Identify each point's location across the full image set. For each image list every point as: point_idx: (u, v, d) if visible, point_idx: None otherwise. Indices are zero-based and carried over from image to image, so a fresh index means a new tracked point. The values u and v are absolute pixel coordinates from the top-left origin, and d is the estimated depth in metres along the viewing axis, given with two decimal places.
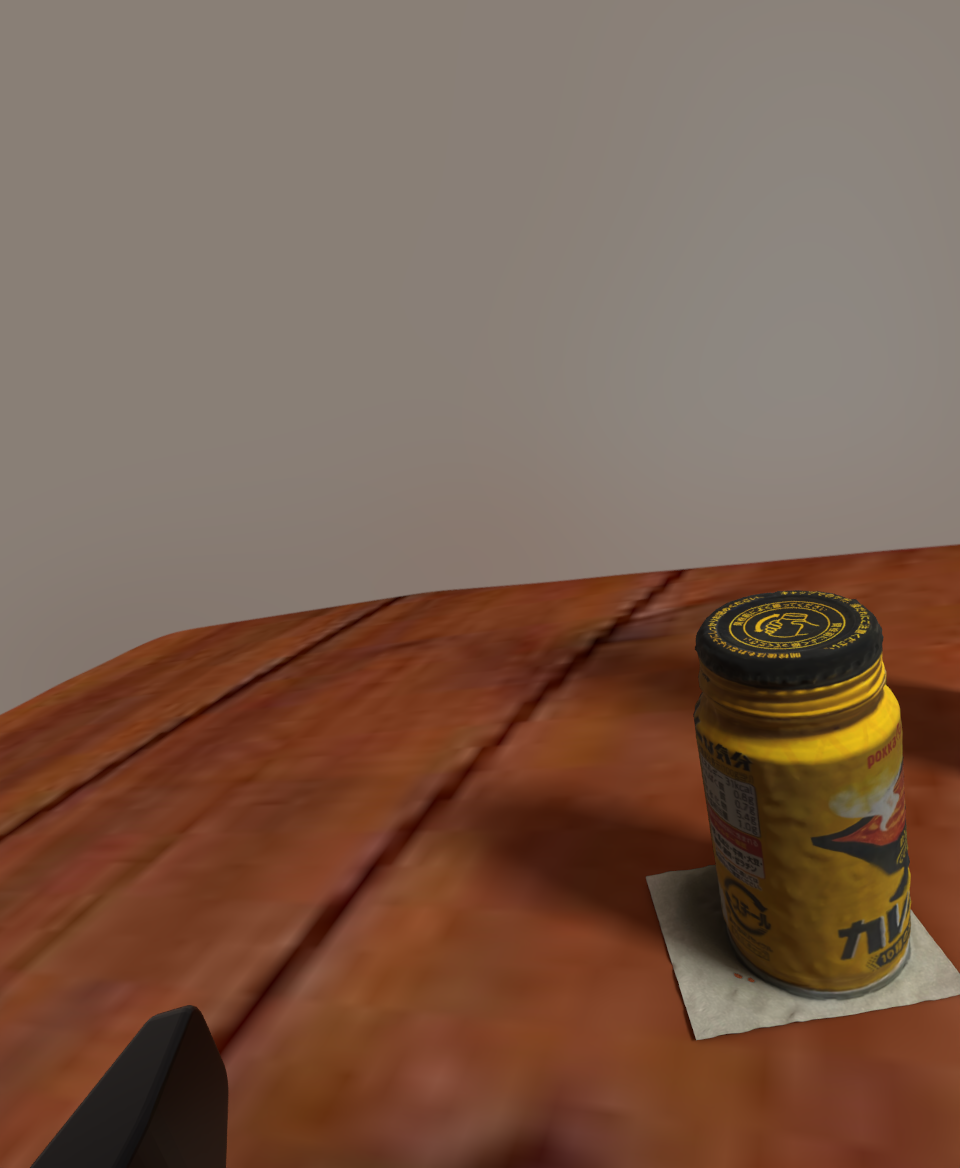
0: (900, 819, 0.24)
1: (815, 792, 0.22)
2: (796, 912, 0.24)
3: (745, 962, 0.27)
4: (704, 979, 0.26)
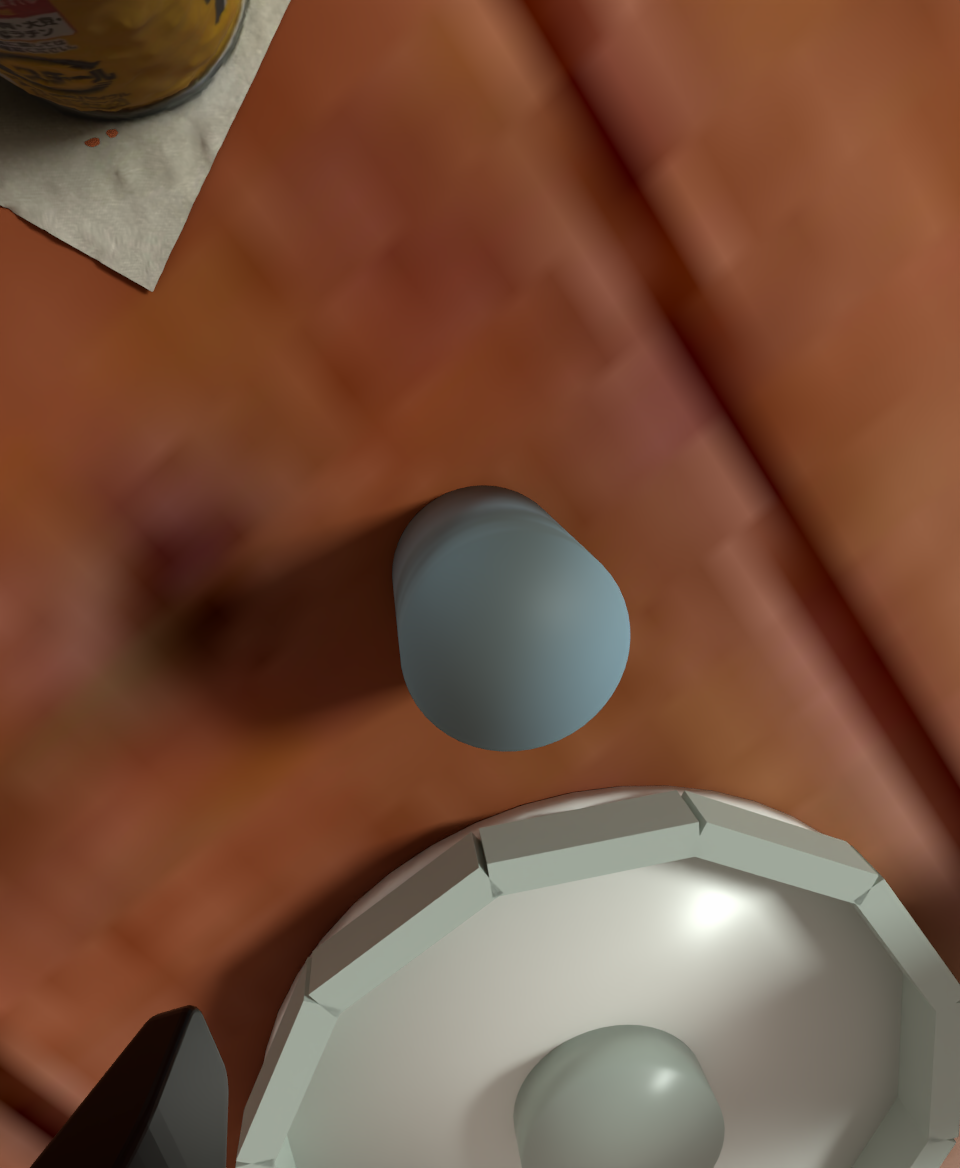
0: None
1: None
2: (147, 36, 0.13)
3: (82, 112, 0.16)
4: (68, 194, 0.16)
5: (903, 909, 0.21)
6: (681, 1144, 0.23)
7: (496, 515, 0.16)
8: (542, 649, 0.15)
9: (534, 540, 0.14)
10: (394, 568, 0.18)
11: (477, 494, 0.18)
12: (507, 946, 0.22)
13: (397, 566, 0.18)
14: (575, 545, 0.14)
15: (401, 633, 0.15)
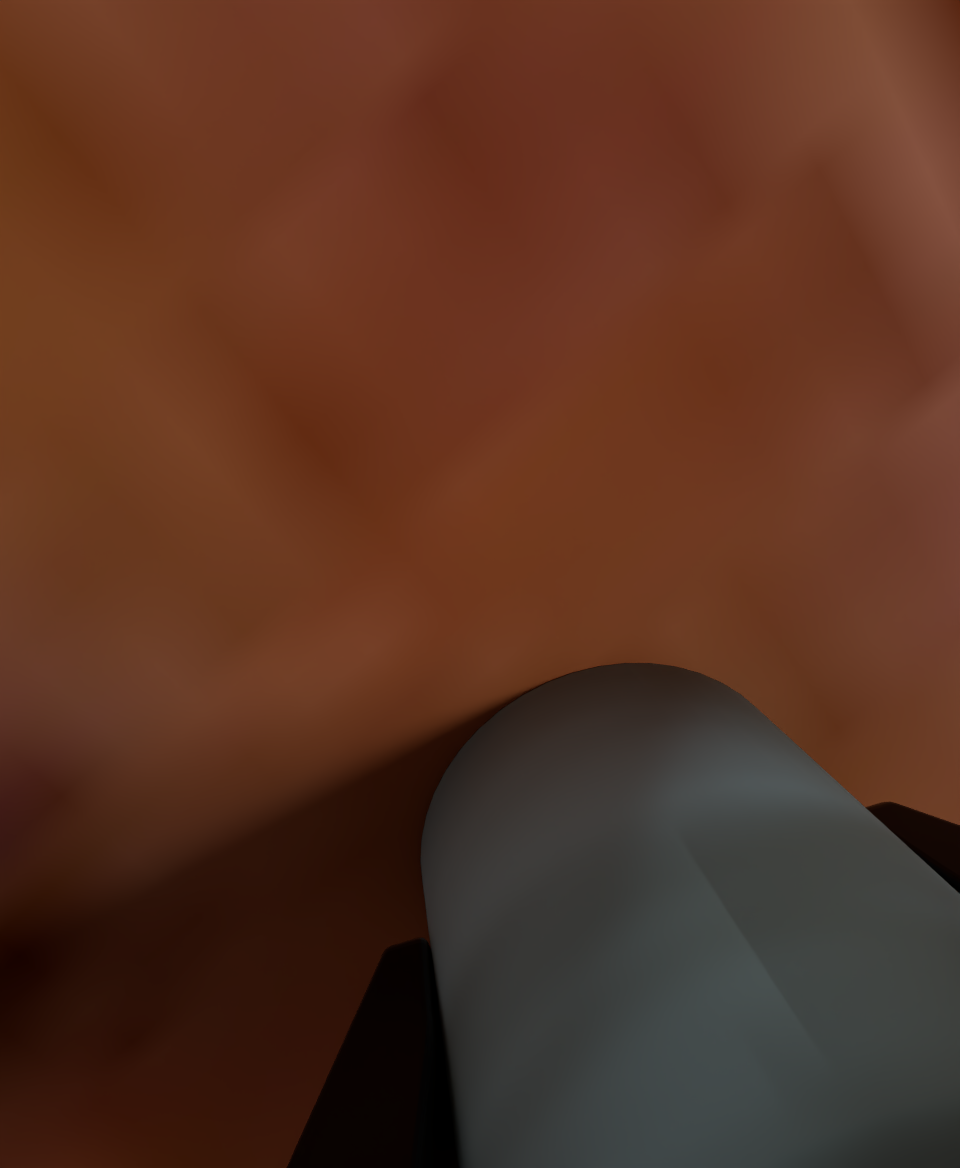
0: None
1: None
2: None
3: None
4: None
5: None
6: None
7: (773, 874, 0.05)
8: None
9: None
10: (430, 875, 0.08)
11: (638, 711, 0.07)
12: None
13: (442, 896, 0.07)
14: None
15: None
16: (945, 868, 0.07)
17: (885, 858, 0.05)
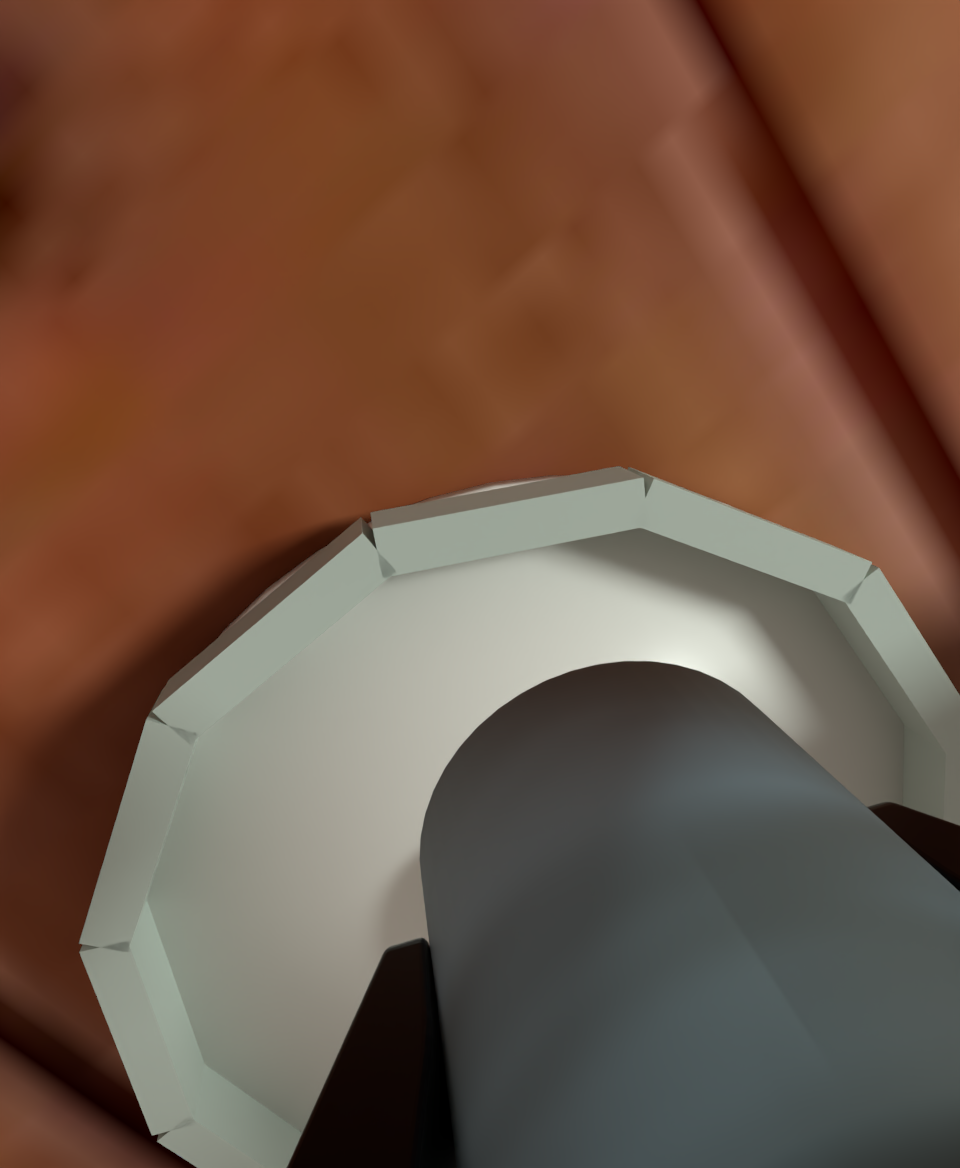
0: None
1: None
2: None
3: None
4: None
5: (903, 611, 0.17)
6: None
7: (772, 870, 0.05)
8: None
9: None
10: (429, 873, 0.08)
11: (637, 709, 0.07)
12: (417, 679, 0.18)
13: (441, 893, 0.07)
14: None
15: None
16: (945, 868, 0.07)
17: (885, 855, 0.05)
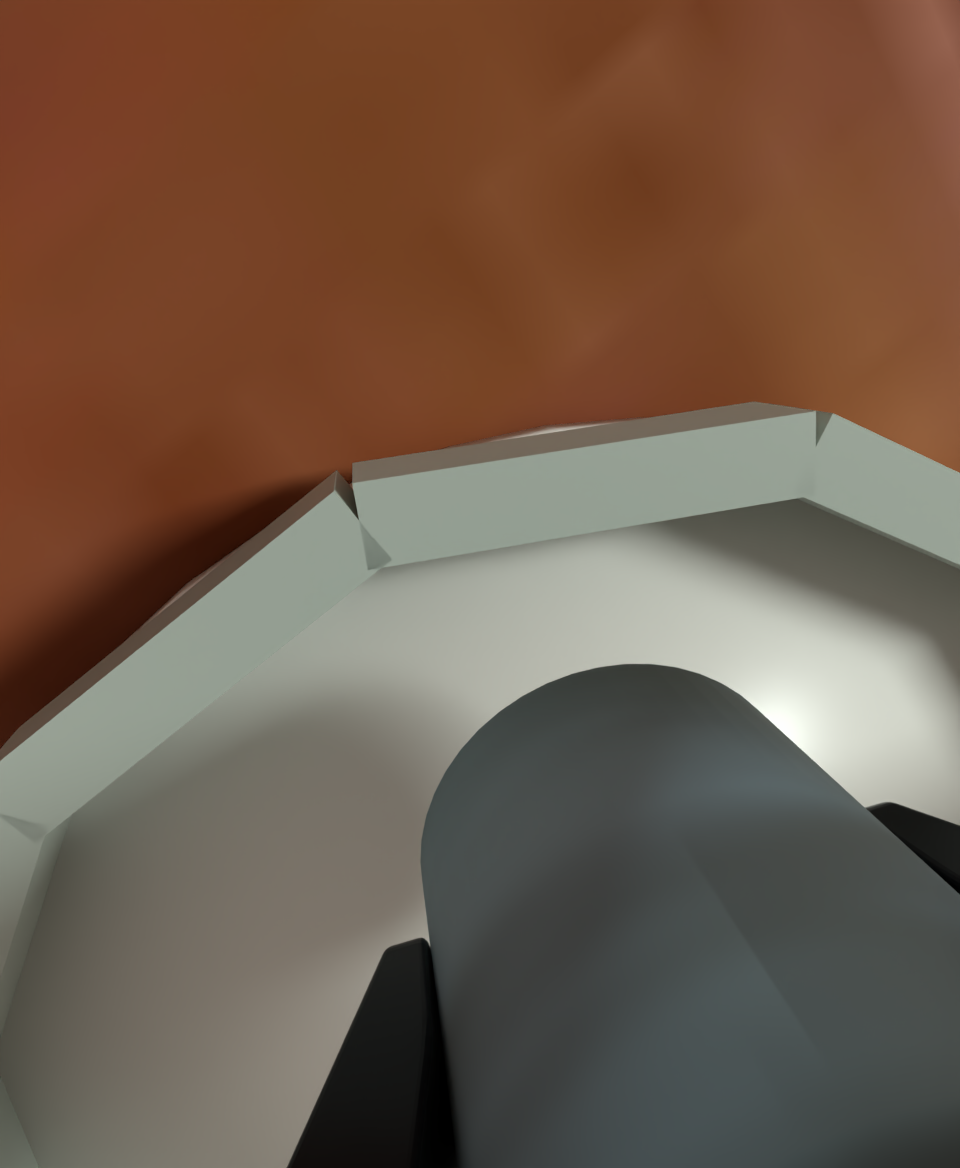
0: None
1: None
2: None
3: None
4: None
5: None
6: None
7: (774, 875, 0.05)
8: None
9: None
10: (430, 876, 0.08)
11: (638, 712, 0.07)
12: (422, 731, 0.11)
13: (442, 897, 0.07)
14: None
15: None
16: (945, 868, 0.07)
17: (886, 859, 0.05)
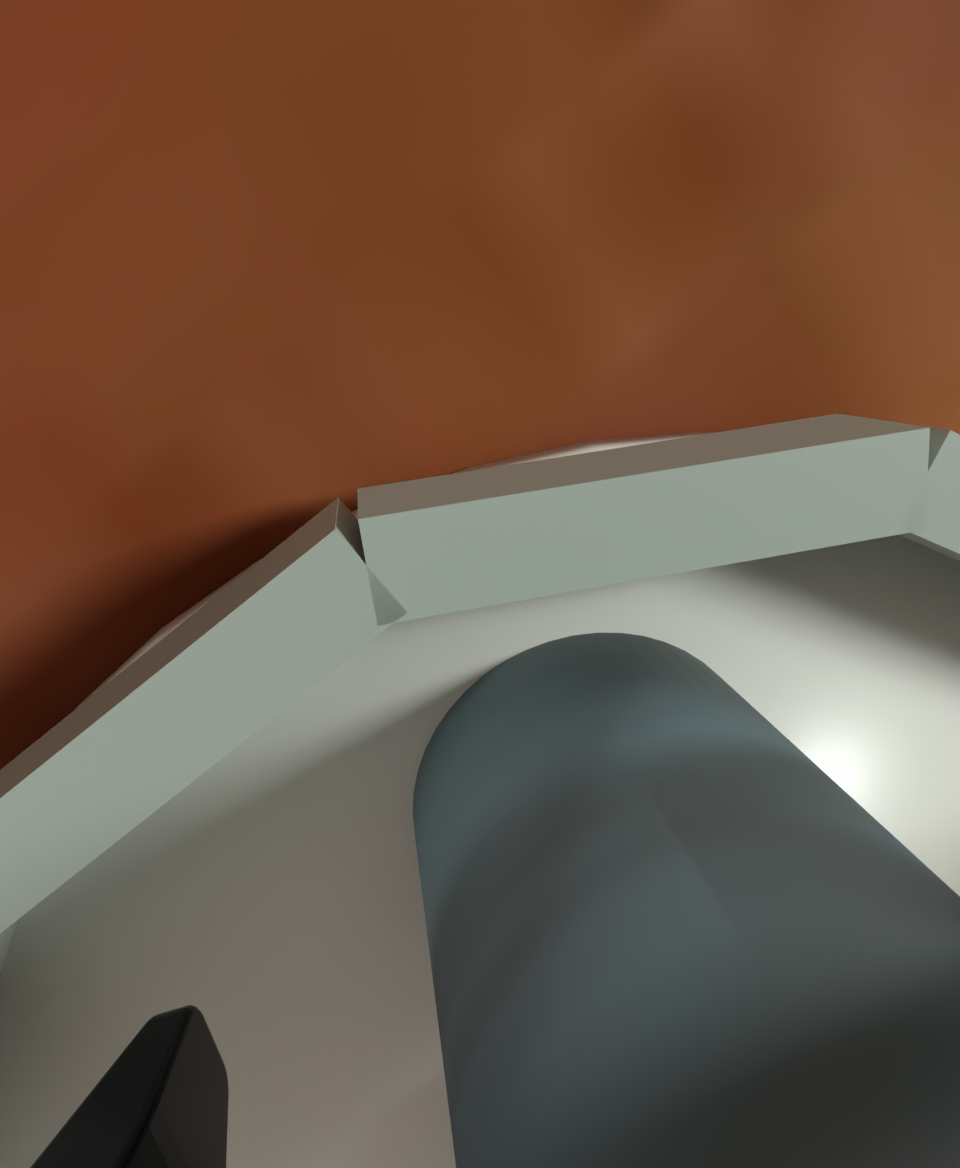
0: None
1: None
2: None
3: None
4: None
5: None
6: None
7: (708, 794, 0.06)
8: None
9: (897, 958, 0.05)
10: (421, 820, 0.09)
11: (605, 671, 0.08)
12: None
13: (430, 835, 0.08)
14: None
15: None
16: None
17: (808, 785, 0.06)
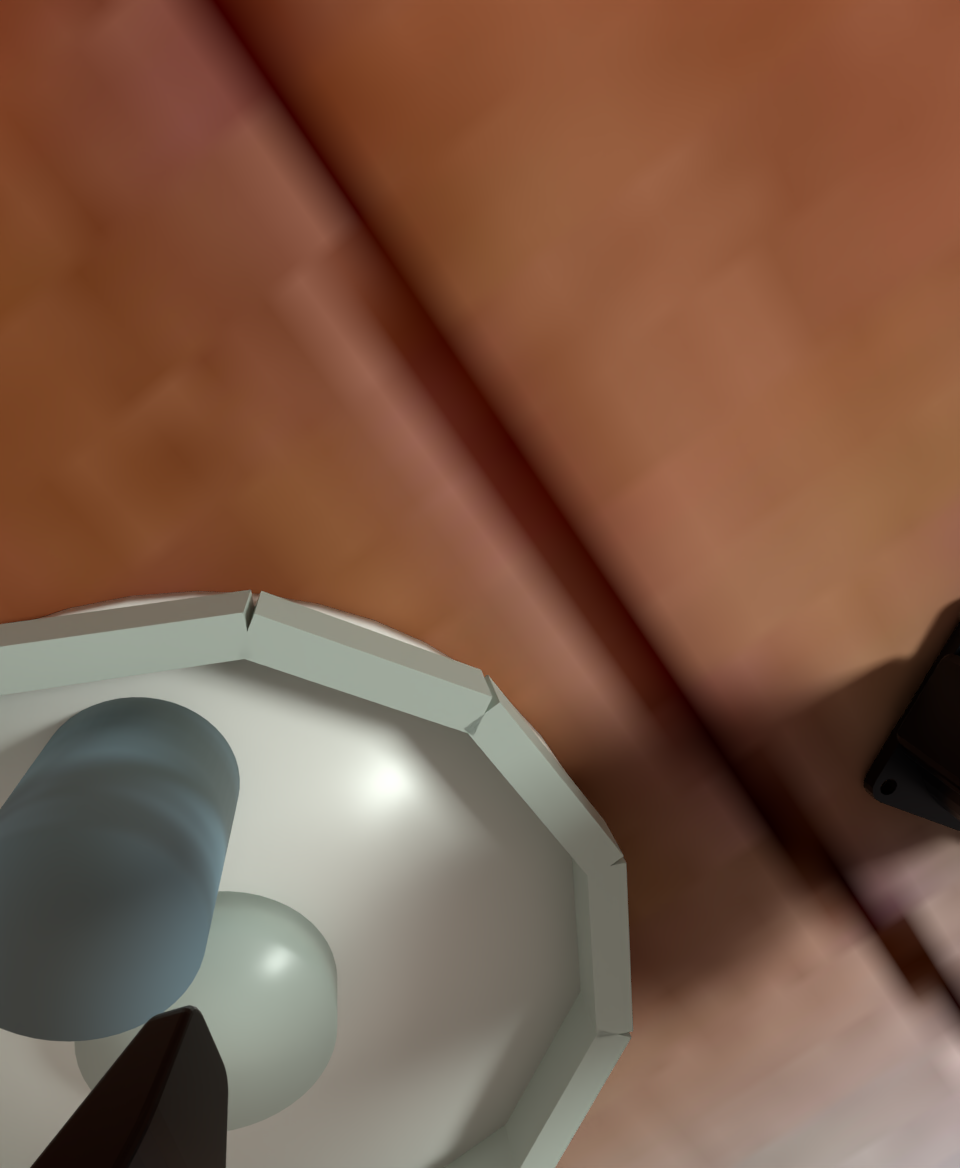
0: None
1: None
2: None
3: None
4: None
5: (529, 743, 0.18)
6: (282, 1032, 0.19)
7: (76, 779, 0.14)
8: (104, 940, 0.14)
9: (77, 836, 0.13)
10: None
11: (107, 720, 0.17)
12: None
13: None
14: (127, 839, 0.13)
15: None
16: None
17: (134, 777, 0.15)
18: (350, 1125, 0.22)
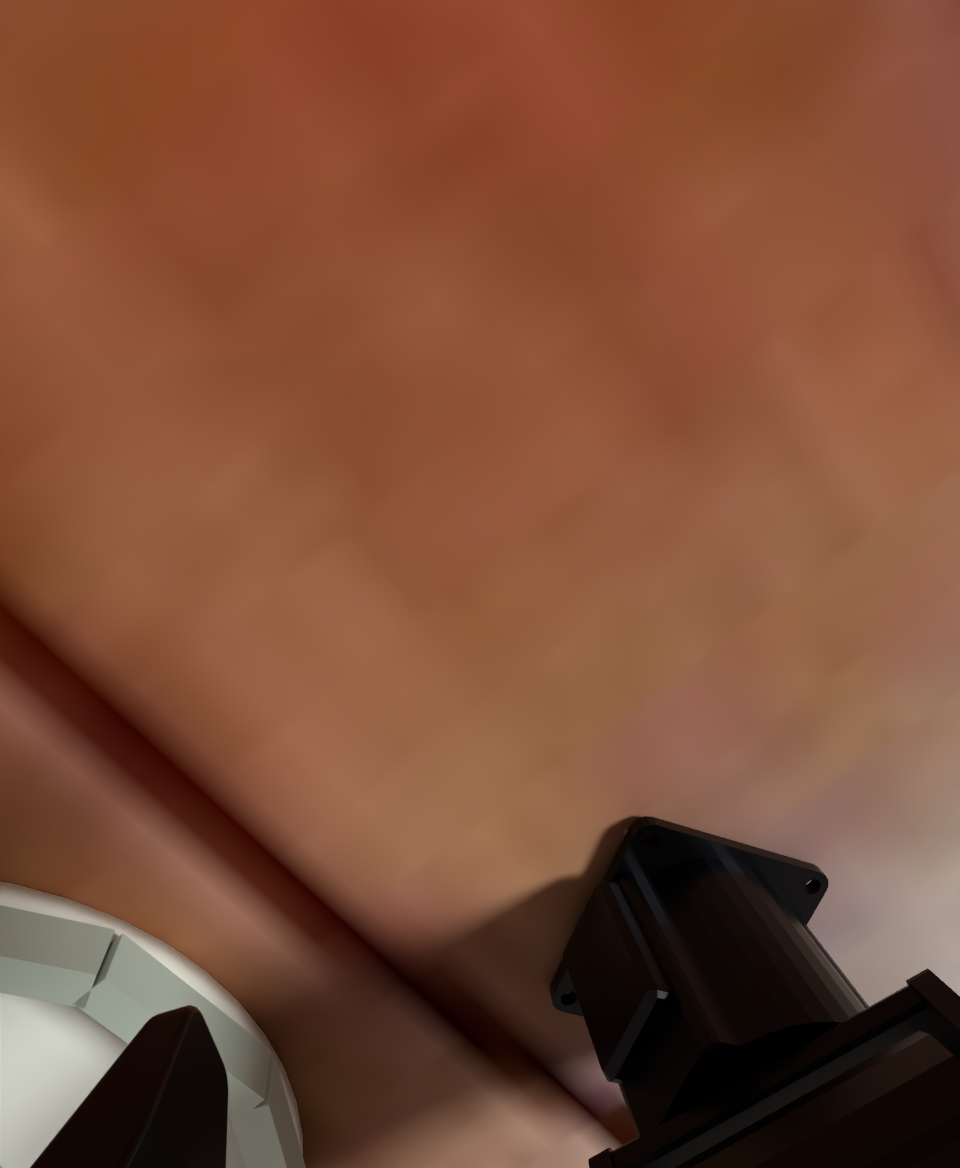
0: None
1: None
2: None
3: None
4: None
5: (144, 1010, 0.19)
6: None
7: None
8: None
9: None
10: None
11: None
12: None
13: None
14: None
15: None
16: None
17: None
18: None
